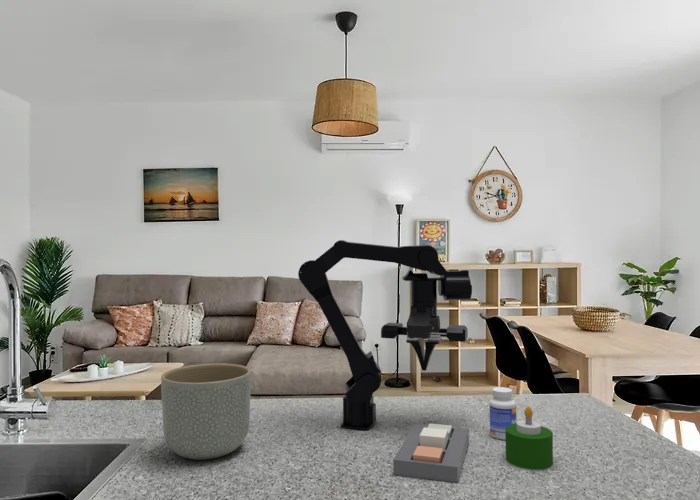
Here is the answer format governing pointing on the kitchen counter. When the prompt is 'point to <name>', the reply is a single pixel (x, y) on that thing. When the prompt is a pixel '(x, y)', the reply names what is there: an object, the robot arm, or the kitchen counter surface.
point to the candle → (529, 444)
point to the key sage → (439, 426)
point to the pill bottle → (501, 412)
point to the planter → (206, 409)
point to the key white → (434, 438)
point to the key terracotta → (428, 454)
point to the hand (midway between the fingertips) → (424, 370)
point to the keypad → (430, 470)
